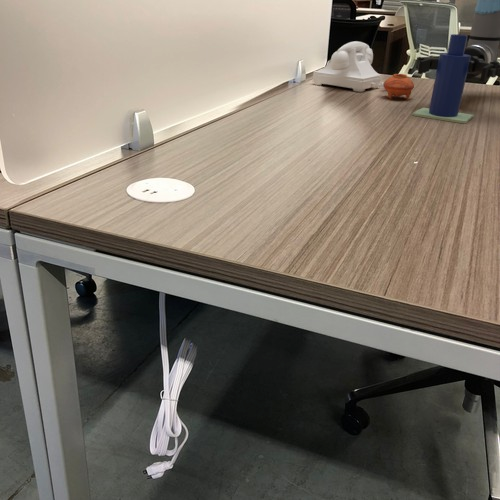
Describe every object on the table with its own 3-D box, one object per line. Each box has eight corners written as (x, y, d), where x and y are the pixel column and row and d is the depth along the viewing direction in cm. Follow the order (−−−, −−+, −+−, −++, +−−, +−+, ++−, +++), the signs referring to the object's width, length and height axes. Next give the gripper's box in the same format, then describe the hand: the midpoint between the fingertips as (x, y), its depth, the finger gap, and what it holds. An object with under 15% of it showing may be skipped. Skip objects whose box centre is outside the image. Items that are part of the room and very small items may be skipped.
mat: (473, 117, 118) (473, 114, 118) (465, 123, 112) (465, 121, 112) (422, 109, 124) (422, 107, 124) (412, 115, 118) (412, 113, 118)
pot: (415, 96, 138) (419, 71, 134) (407, 107, 133) (410, 82, 129) (387, 91, 141) (390, 67, 137) (377, 102, 136) (380, 78, 132)
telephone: (347, 77, 166) (352, 35, 160) (406, 85, 154) (414, 41, 148) (303, 85, 149) (306, 40, 143) (366, 96, 137) (372, 47, 131)
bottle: (460, 113, 119) (477, 35, 111) (453, 118, 114) (471, 37, 106) (433, 109, 122) (448, 33, 114) (425, 114, 117) (440, 34, 109)
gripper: (521, 83, 123) (507, 95, 107) (420, 71, 135) (393, 81, 119) (530, 50, 120) (516, 58, 104) (425, 41, 132) (398, 47, 116)
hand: (450, 70), depth 112 cm, fingers open, 13 cm apart
